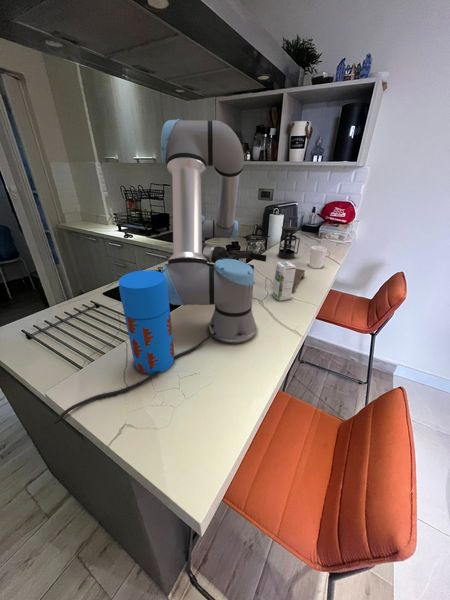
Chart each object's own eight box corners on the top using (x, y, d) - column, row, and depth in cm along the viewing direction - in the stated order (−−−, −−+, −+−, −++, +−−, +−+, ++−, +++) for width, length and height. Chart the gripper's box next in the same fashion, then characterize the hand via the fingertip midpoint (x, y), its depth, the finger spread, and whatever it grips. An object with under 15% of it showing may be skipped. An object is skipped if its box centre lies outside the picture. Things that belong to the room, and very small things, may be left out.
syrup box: (271, 294, 108) (275, 262, 101) (284, 293, 109) (288, 260, 102) (278, 301, 103) (283, 267, 96) (291, 299, 105) (296, 265, 98)
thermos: (158, 343, 78) (148, 266, 66) (182, 358, 72) (175, 277, 60) (127, 362, 71) (108, 279, 59) (150, 381, 65) (135, 293, 53)
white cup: (321, 263, 141) (325, 246, 137) (324, 269, 134) (328, 250, 130) (306, 263, 142) (309, 245, 137) (309, 268, 135) (312, 250, 130)
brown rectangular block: (292, 292, 110) (293, 285, 108) (274, 288, 113) (275, 281, 111) (303, 276, 125) (305, 270, 123) (287, 273, 128) (288, 267, 127)
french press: (274, 257, 150) (279, 216, 139) (279, 252, 157) (284, 214, 146) (294, 260, 145) (300, 219, 134) (298, 256, 152) (305, 216, 141)
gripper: (228, 254, 125) (269, 262, 116) (199, 271, 106) (246, 282, 97) (228, 239, 121) (271, 246, 112) (199, 254, 102) (248, 264, 93)
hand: (260, 263), depth 105 cm, fingers open, 13 cm apart
